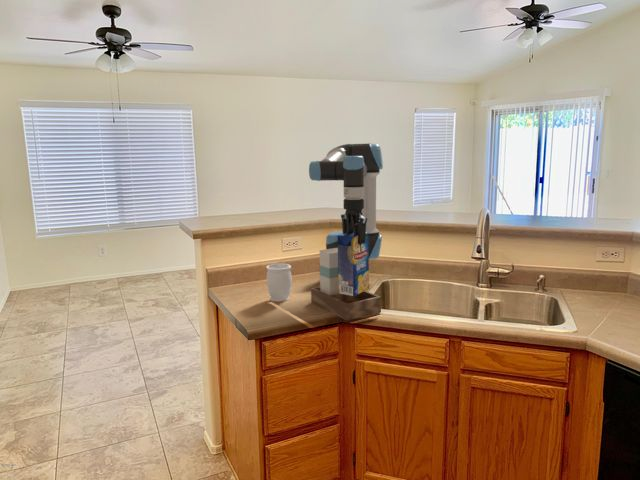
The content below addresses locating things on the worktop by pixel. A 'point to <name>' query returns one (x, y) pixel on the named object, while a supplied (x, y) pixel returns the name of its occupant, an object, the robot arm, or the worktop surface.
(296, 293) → the worktop surface
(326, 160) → the robot arm
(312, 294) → the bin
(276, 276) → the jar
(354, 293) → the blue food box
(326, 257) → the banded carton
